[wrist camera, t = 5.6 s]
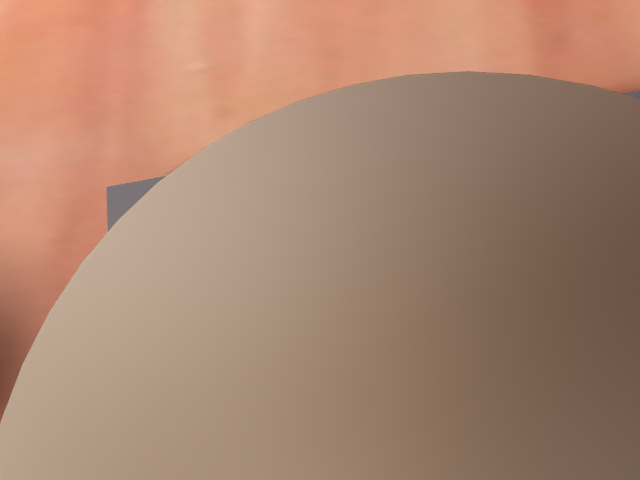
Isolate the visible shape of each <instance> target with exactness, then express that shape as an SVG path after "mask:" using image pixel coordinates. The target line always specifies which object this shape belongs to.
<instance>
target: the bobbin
mask: <svg viewBox="0 0 640 480" xmlns="http://www.w3.org/2000/svg"><path fill="white" fill-rule="evenodd" d="M0 480H640V99H637V98H633V97H630V96H627V95H623V94H620V93H616V92H613V91H609V90H606V89H602V88H599V87H595V86H591V85H585V84H579V83H574V82H568V81H562V80H556V79H550V78H545V77H539V76H533V75H522V74H505V73H487V72H469V71H467V72H449V73H432V74H415V75H405V76H399V77H394V78H388V79H382V80H377V81H371V82H365V83H360V84H354V85H350V86H347V87H343V88H340V89H337V90H333V91H330V92H327V93H323V94H320V95H317V96H313V97H310V98H307V99H303V100H300V101H297V102H295V103H293V104H290V105H288V106H286V107H283V108H281V109H279V110H276V111H274V112H272V113H269V114H267V115H265V116H263V117H260V118H258V119H256V120H253V121H251V122H249V123H247V124H245V125H243V126H242V127H240V128H238V129H236V130H235V131H233V132H231V133H230V134H228V135H226V136H224V137H223V138H221V139H219V140H218V141H216V142H214V143H212V144H211V145H209V146H207V147H206V148H204V149H202V150H200V151H199V152H198V153H196V154H195V155H194V156H192V157H191V158H190V159H188V160H187V161H186V162H184V163H183V164H182V165H180V166H179V167H178V168H176V169H175V170H174V171H172V172H171V173H170V174H168V175H167V176H166V177H164V178H163V179H162V180H160V181H159V182H158V183H157V184H156V185H154V186H153V187H152V188H151V189H150V190H149V191H148V192H147V193H146V194H145V195H144V196H143V197H142V198H141V199H140V200H139V201H138V202H137V203H136V204H134V205H133V206H132V207H131V208H130V209H129V210H128V211H127V212H126V213H125V214H124V215H123V216H122V217H121V218H120V219H119V220H118V221H117V222H116V223H115V224H114V225H113V227H112V228H111V229H110V230H109V231H108V232H107V234H106V235H105V236H104V237H103V238H102V240H101V241H100V242H99V243H98V244H97V246H96V247H95V248H94V249H93V250H92V252H91V253H90V254H89V255H88V256H87V258H86V259H85V260H84V261H83V262H82V264H81V265H80V266H79V268H78V269H77V271H76V273H75V274H74V276H73V277H72V279H71V280H70V282H69V283H68V285H67V286H66V288H65V289H64V291H63V292H62V294H61V295H60V297H59V298H58V300H57V301H56V303H55V304H54V306H53V307H52V309H51V310H50V312H49V314H48V316H47V318H46V320H45V322H44V324H43V325H42V327H41V329H40V331H39V333H38V335H37V337H36V339H35V341H34V343H33V345H32V347H31V349H30V351H29V353H28V355H27V357H26V359H25V361H24V362H23V364H22V367H21V370H20V372H19V375H18V378H17V380H16V383H15V385H14V388H13V391H12V393H11V396H10V398H9V401H8V404H7V406H6V409H5V411H4V414H3V417H2V419H1V422H0Z"/></svg>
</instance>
